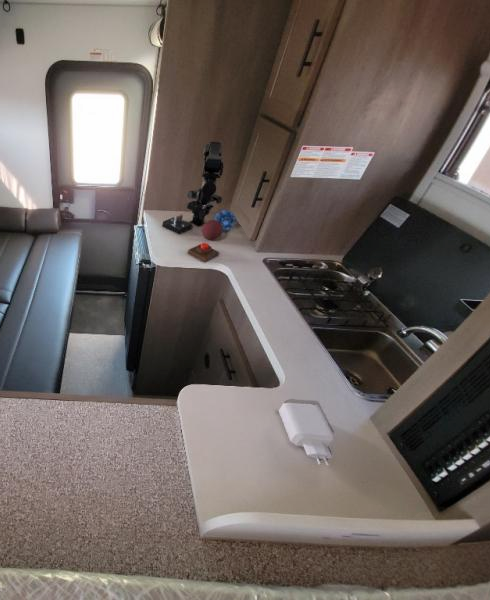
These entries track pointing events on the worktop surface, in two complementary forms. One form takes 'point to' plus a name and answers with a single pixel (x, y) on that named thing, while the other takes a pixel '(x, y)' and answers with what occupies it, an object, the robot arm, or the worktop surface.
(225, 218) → the blue bumpy cluster
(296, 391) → the worktop surface
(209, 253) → the block
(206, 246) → the power button
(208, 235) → the decorative ball
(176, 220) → the dial
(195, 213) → the robot arm
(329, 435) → the charger
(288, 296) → the worktop surface
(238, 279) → the worktop surface
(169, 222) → the dial panel
